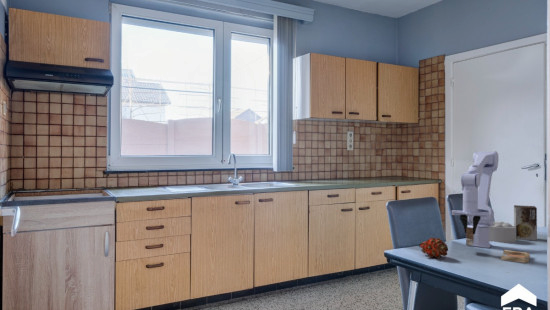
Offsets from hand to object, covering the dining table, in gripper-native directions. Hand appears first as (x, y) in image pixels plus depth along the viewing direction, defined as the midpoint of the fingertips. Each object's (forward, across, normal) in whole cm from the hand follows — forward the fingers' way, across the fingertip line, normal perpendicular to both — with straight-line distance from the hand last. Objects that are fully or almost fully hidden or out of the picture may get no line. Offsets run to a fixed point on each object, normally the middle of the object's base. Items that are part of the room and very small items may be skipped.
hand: (470, 233), depth 167 cm
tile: (+9, +17, 0) cm, 19 cm away
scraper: (+5, 0, 0) cm, 5 cm away
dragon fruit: (+8, -11, -17) cm, 22 cm away
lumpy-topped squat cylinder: (+8, +8, +34) cm, 36 cm away
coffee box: (+8, +18, +45) cm, 49 cm away
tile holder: (+8, +16, 0) cm, 18 cm away
